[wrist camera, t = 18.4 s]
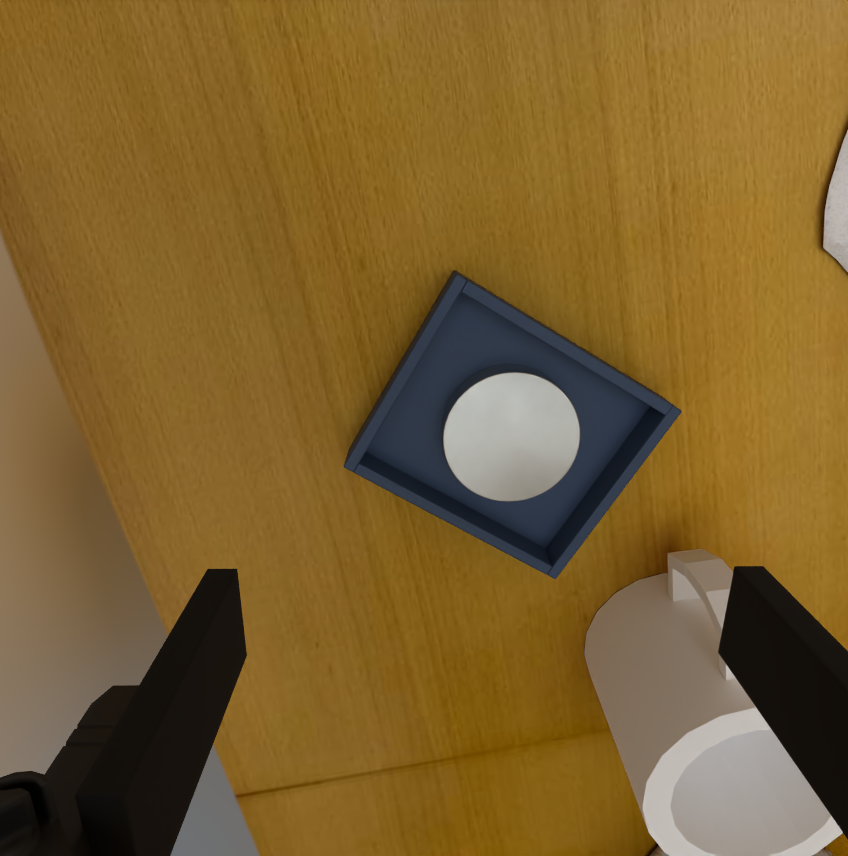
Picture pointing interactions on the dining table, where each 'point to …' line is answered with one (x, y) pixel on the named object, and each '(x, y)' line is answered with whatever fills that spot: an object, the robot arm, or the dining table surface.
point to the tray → (470, 353)
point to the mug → (696, 722)
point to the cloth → (838, 210)
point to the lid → (510, 433)
